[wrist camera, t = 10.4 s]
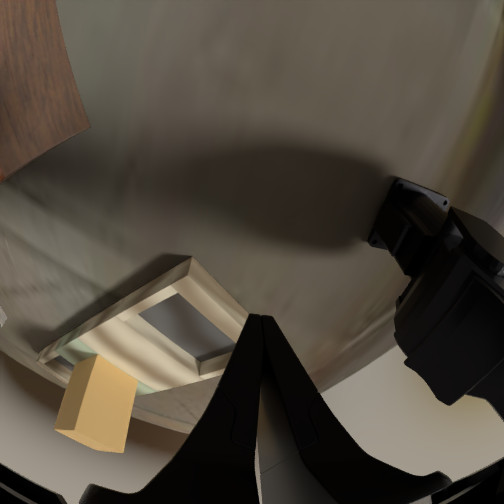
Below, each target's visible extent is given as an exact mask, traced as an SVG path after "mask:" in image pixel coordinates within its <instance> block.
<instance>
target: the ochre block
mask: <svg viewBox="0 0 504 504" xmlns="http://www.w3.org/2000/svg"><path fill="white" fill-rule="evenodd" d="M137 384H138V380H136V379H135V378H133V377H131V376H130V375H128V374H127V373H125V372H124V371H122V370H120V369H119V368H117V367H116V366H114V365H113V364H111V363H110V362H109V361H107V360H106V359H104V358H103V357H101V356H100V355H98V354H97V355H95V356H92V357H90V358H88V359H85V360H83V361H81V362H78V363H76V364H75V366H74V369H73V372H72V374H71V377H70V380H69V383H68V386H67V388H66V392H65V394H64V398H63V400H62V404H61V407H60V410H59V413H58V417H57V420H56V424H55V427H54V429H55V430H56V431H58V432H60V433H62V434H64V435H66V436H68V437H70V438H72V439H74V440H76V441H78V442H80V443H82V444H84V445H86V446H88V447H91V448H93V449H95V450H99V451H108V452H119V453H124V447H125V441H126V436H127V431H128V426H129V420H130V416H131V411H132V406H133V402H134V397H135V393H136V388H137Z"/></svg>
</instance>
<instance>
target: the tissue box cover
mask: <svg viewBox="0 0 504 504" xmlns="http://www.w3.org/2000/svg"><path fill="white" fill-rule="evenodd" d="M88 128H90V124H89V122H88V119H87V116H86V113H85V110H84V107H83V104H82V101H81V98H80V95H79V92H78V89H77V86H76V83H75V80H74V76H73V73H72V69H71V66H70V62H69V59H68V55H67V51H66V47H65V43H64V39H63V35H62V31H61V26H60V22H59V17H58V12H57V7H56V1H55V0H0V184H1V183H2V182H4V181H5V180H6V179H8V178H9V177H10V176H12V175H13V174H15V173H16V172H17V171H19V170H20V169H22V168H23V167H25V166H26V165H27V164H29V163H30V162H32V161H33V160H35V159H36V158H38V157H40V156H41V155H43V154H44V153H46V152H47V151H49V150H51V149H52V148H54V147H56V146H57V145H59V144H61V143H63V142H64V141H66V140H68V139H70V138H71V137H73V136H75V135H77V134H79V133H80V132H82V131H84V130H86V129H88Z"/></svg>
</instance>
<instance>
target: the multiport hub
mask: <svg viewBox="0 0 504 504" xmlns="http://www.w3.org/2000/svg"><path fill="white" fill-rule="evenodd" d="M6 319H7V317H6V315H5V313H4V312H3V310H2V308H1V306H0V326H1V327H2V326H3V324H4V323H5V321H6Z"/></svg>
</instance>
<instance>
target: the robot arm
mask: <svg viewBox="0 0 504 504" xmlns="http://www.w3.org/2000/svg"><path fill="white" fill-rule="evenodd" d="M399 183H401V185H400V186H398V184H399ZM444 201H445V202H444ZM443 202H444V203H443ZM448 205H449V199H448V198H447V197H446V196H444V195H441V194H439V193H437V192H434V191H432V190H429V189H427V188H424V187H422V186H419V185H417V184H414V183H412V182H409V181H406V180H404V179H401V178H397V179H395V180H394V182H393V184H392V186H391V189H390V191H389V194H388V196H387V198H386V200H385V201H384V203H383V205H382V208H381V210H380V212H379V214H378V217H377V219H376V221H375V223H374V227H373V229H372V232H371V234H370V236H369V238H368V243H369V245H370V246H372V247H376V248H380V249H385V250H388V251H389V252H390V254H391V256H393V257H394V258H395V260H396V261H397V263H398V264H399V266H400V268H401V269H402V271H403V273H404V274H405V275H408V276H409V277H410V279H411V281H410V283H409V284H408V286H407V287H406V289H405V290H404V292H403V293H402V295H401V296H399V297H398V299H397V300H396V313H395V317H394V323H395V330H396V331H395V333H394V337H395V340H396V342H397V344H398V346H399V347H400V349H401V350H402V352H403V353H404V354H405V355H406V356H407V357H408V358H407V359H406V360H405V361H404V364H405V365H406V366H407V367H409V368H411V369H412V370H414V371H415V372H416V373H418V375H420V376H421V377H422V378H423V379H424V380H425V382H426V383H427V384H428V386H429V387H430V389H431V390H432V392H433V393H434V395H435V396H436V398H437V399H438V400H439V401H441V402H443V403H444V404H446V405H449V406H450V405H452V404H453V403H455V402H456V401H457V400H459V399H460V398H461V397H463V396H464V395H468V396H473V397H477V398H481V399H485V400H486V401H487V402H488V403H489V404H490V405H491V406H492V407H493V409H494V410H495V411H496V412H497V414H498V415H499V416H500V417H501V419H502V420H503V422H504V237H503V236H502V235H501V234H499V233H498V232H497V231H496V230H495V229H494V228H493V227H492V226H490V225H489V224H488V223H487V222H485V221H483V220H481V219H479V218H477V217H475V216H473V215H470V214H468V213H466V212H464V211H461V210H459V209H457V208H454V207H452V206H451V207H450V209H449V211H448V213H447V212H446V209H447V207H448ZM373 240H375V241H374V242H372V241H373ZM317 392H318V390H317V388H316V387H315V385H314V383H313V382H312V380H311V379H310V377H309V375H308V374H307V372H306V370H305V369H304V367H303V366H302V364H301V362H300V361H299V359H298V357H297V356H296V354H295V352H294V351H293V349H292V348H291V346H290V344H289V343H288V341H287V339H286V338H285V336H284V334H283V333H282V331H281V329H280V328H279V326H278V324H277V323H276V321H275V319H274V318H273V317H272V316H268V315H261V316H260V315H259V314H252V313H250V314H249V315H248V317H247V319H246V322H245V324H244V326H243V329H242V331H241V333H240V336H239V338H238V340H237V342H236V345H235V347H234V349H233V352H232V354H231V356H230V358H229V361H228V363H227V365H226V368H225V370H224V372H223V374H222V377H221V379H220V381H219V383H218V386H217V388H216V390H215V392H214V394H213V396H212V398H211V400H210V402H209V404H208V406H207V408H206V410H205V411H204V413H203V415H202V416H201V418H200V419H199V421H198V422H197V424H196V425H195V427H194V428H193V430H192V431H191V433H190V434H189V436H188V437H187V438H186V440H185V441H184V443H183V444H182V446H181V447H180V448H179V450H178V451H177V452H176V454H175V455H174V456H173V457H172V459H171V460H170V461H169V462H168V463H167V464H166V465H165V466H164V467H163V468H162V469H161V470H160V472H159V473H158V474H157V475H156V476H155V477H154V478H153V479H152V480H151V481H150V482H149V483H148V484H147V485H146V486H145V487H144V488H143V489H141V490H140V491H138V492H135V493H129V494H128V493H122V492H118V491H115V490H111V489H108V488H105V487H102V486H98V485H95V484H89V485H88V486H87V488H86V490H85V491H84V493H83V495H82V497H81V499H80V501H79V504H260V503H259V496H258V489H257V483H256V475H255V462H254V461H255V449H256V438H257V441H258V453H259V466H260V474H261V475H260V479H261V491H262V504H504V457H502V458H501V459H499V460H497V461H495V462H494V463H492V464H490V465H488V466H486V467H484V468H482V469H480V470H478V471H476V472H474V473H472V474H470V475H468V476H466V477H463V478H461V479H459V480H457V481H454V482H452V481H451V479H450V478H449V477H448V476H447V475H445V474H443V473H442V472H440V471H436V472H434V473H431V474H429V475H426V476H416V475H412V474H409V473H407V472H405V471H402V470H400V469H398V468H395V467H393V466H391V465H389V464H386V463H384V462H382V461H380V460H378V459H376V458H374V457H372V456H370V455H369V454H367V453H366V452H365V451H364V450H363V449H362V448H361V447H360V446H359V445H358V444H357V443H356V442H355V440H354V439H353V438H352V437H351V436H350V434H349V433H348V432H347V431H346V429H345V428H344V427H343V426H342V425H341V423H340V422H339V421H338V419H337V418H336V417H335V416H334V415H333V413H332V412H331V410H330V409H329V407H328V406H327V404H326V403H325V401H324V400H323V398H322V396H321V395H320V393H319V392H318V393H317ZM0 504H67V502H66V501H65V499H64V498H63V496H62V495H60V494H58V493H56V492H54V491H51V490H49V489H47V488H45V487H43V486H41V485H39V484H37V483H35V482H33V481H31V480H29V479H28V478H26V477H24V476H22V475H20V474H19V473H16V472H15V471H13V470H12V469H10V468H8V467H7V466H5V465H3V464H2V463H0Z"/></svg>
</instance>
